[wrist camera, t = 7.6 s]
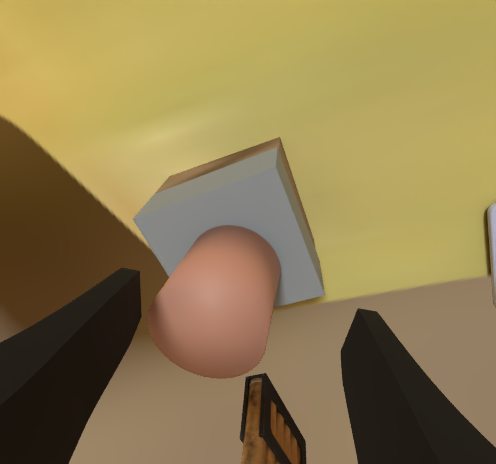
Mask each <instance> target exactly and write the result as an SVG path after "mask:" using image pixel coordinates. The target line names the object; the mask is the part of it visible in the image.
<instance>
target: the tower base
mask: <svg viewBox="0 0 496 464" xmlns="http://www.w3.org/2000/svg"><path fill="white" fill-rule="evenodd" d="M276 147H277V148H278V150H279V153H280V156H281V159H282V161H283V164H284V167H285V169H286V172H287V175H288V177H289V180H290V183H291V185H292V188H293V191H294V194H295V196H296V199H297V202H298V204H299V207H300V210H301V213H302V215H303V218H304V221H305V223H306V226H307V229H308V231H309V234H310V237H311V240H312V242H313V245H314V248H315V243H314V239H313V236H312V233H311V230H310V227H309V224H308V221H307V218H306V215H305V212H304V209H303V206H302V203H301V200H300V197H299V194H298V191H297V188H296V184H295V181H294V178H293V175H292V172H291V169H290V166H289V163H288V160H287V157H286V154H285V151H284V148H283V145H282V142H281V139H280V137H279V138H276V139H273V140H270V141H268V142H265V143H262V144H259V145H256V146H253V147H251V148H248V149H245V150H242V151H239V152H237V153H234V154H231V155H228V156H225V157H223V158H220V159H217V160H214V161H211V162H209V163H206V164H203V165H200V166H197V167H194V168H192V169H189V170H186V171H183V172H180V173H178V174H175V175H172V176H170V177H169V178H168V179H167V180H166V181H165V182H164V183H163V185H162V186H161V187H160V188H159V189H158V190H157V192H156V193H158V192H161V191H163V190H166V189H168V188H171V187H174V186H176V185H179V184H182V183H184V182H187V181H189V180H192V179H195V178H197V177H200V176H203V175H205V174H208V173H210V172H213V171H216V170H218V169H221V168H224V167H226V166H229V165H231V164H234V163H237V162H239V161H242V160H245V159H247V158H250V157H253V156H255V155H258V154H260V153H263V152H266V151H268V150H271V149H274V148H276Z"/></svg>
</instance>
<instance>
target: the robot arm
mask: <svg viewBox="0 0 496 464" xmlns="http://www.w3.org/2000/svg"><path fill="white" fill-rule="evenodd" d="M487 218H488V233H489V247H490V262H491V277H492V291H493V303H494V305H495V307H496V203H495V204H492V205H491V206H490V207H489V209H488V211H487ZM140 294H141V293H140V271H137V270H131V269H126V268H121V269H119V270H117V271H116V272H114V273H113V274H111V275H110V276H109V277H107V278H106V279H104V280H103V281H101V282H100V283H98V284H97V285H95V286H94V287H92V288H91V289H90V290H88V291H87V292H85V293H84V294H82V295H81V296H79V297H78V298H76V299H75V300H73V301H72V302H70V303H68V304H67V305H65V306H64V307H62V308H61V309H59V310H57V311H56V312H54V313H52V314H51V315H49V316H48V317H46V318H44V319H43V320H41V321H39V322H38V323H36V324H34V325H32V326H31V327H29V328H27V329H25V330H24V331H22V332H20V333H18V334H16V335H14V336H12V337H11V338H9V339H7V340H4V341H3V342H1V343H0V464H69V461H70V459H71V456H72V454H73V452H74V450H75V448H76V446H77V443H78V441H79V439H80V437H81V434H82V432H83V430H84V428H85V426H86V423H87V421H88V419H89V418H90V416H91V414H92V412H93V410H94V408H95V406H96V404H97V403H98V401H99V399H100V397H101V395H102V394H103V392H104V390H105V388H106V387H107V385H108V383H109V381H110V379H111V378H112V376H113V374H114V372H115V371H116V369H117V367H118V365H119V364H120V362H121V360H122V358H123V356H124V354H125V353H126V351H127V349H128V347H129V345H130V343H131V341H132V339H133V336H134V334H135V331H136V329H137V326H138V324H139V321H140V318H141V295H140ZM341 368H342V379H343V387H344V392H345V397H346V403H347V408H348V413H349V418H350V423H351V428H352V433H353V439H354V443H355V448H356V454H357V459H358V464H496V448H495V447H494V446H493V445H492V444H491V443H490V442H489V441H488V440H487V439H486V438H485V437H484V436H483V435H482V434H481V433H480V432H479V431H478V430H477V429H476V428H475V427H474V426H473V425H472V424H471V423H470V422H469V421H468V420H467V419H466V418H465V417H464V416H463V415H462V414H461V413H460V412H459V411H458V410H457V409H456V408H455V407H454V405H452V403H451V402H450V401H449V400H448V399H447V398H446V397H445V395H444V394H443V393H442V392H441V391H440V390H439V389H438V388H437V386H436V385H435V384H434V383H433V382H432V381H431V379H430V378H429V377H428V376H427V375H426V374H425V372H424V371H423V370H422V369H421V368H420V366H419V365H418V364H417V363H416V362H415V360H414V359H413V358H412V356H411V355H410V354H409V353H408V351H407V350H406V349H405V347H404V346H403V345H402V344H401V342H400V341H399V340H398V338H397V337H396V336H395V334H394V333H393V332H392V331H391V329H390V328H389V327H388V325H387V324H386V323H385V321H384V320H383V319H382V317H381V316H380V315H379V314H378V313H377V312H376V311H370V310H364V309H358V310H357V312H356V315H355V317H354V320H353V322H352V324H351V327H350V329H349V332H348V334H347V337H346V340H345V342H344V344H343V347H342V349H341Z"/></svg>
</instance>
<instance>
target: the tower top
mask: <svg viewBox="0 0 496 464" xmlns="http://www.w3.org/2000/svg"><path fill="white" fill-rule="evenodd" d="M133 220H134V222H135V223H136V225H137V226H138V228H139V230H140V231H141V233H142V234H143V236H144V238H145V239H146V241H147V242H148V244H149V246H150V247H151V249H152V250H153V252H154V253H155V255H156V257H157V258H158V260H159V261H160V263H161V264H162V266H163V268H164V269H165V271H166V272H167V274H168V276H169V277H170V276H171V275H172V273H173V272H174V271H175V269H176V268H177V266H178V265H179V263H180V262H181V261H182V259H183V258H184V256H185V255H186V254H187V252H188V251H189V249H190V248H191V247H192V245H193V244H194V242H195V241H196V240H197V238H198V237H199V236H200V235H201V234H203V233H204V232H206V231H207V230H209V229H211V228H214V227H217V226H223V225H234V226H240V227H244V228H247V229H250V230H252V231H254V232H256V233H257V234H259V235H261V236H262V237H263V238H264V239H265V240H266V241H267V242H268V243H269V244H270V245H271V246H272V248H273V249H274V251H275V252H276V254H277V257H278V259H279V263H280V277H279V282H278V287H277V292H276V297H275V303H274V308H275V307H279V306H283V305H287V304H291V303H295V302H300V301H304V300H308V299H312V298H316V297H320V296H324V295H325V293H324V286H323V280H322V274H321V268H320V261H319V258H318V256H317V253H316V250H315V248H314V245H313V242H312V240H311V237H310V234H309V231H308V229H307V226H306V223H305V221H304V218H303V215H302V213H301V210H300V207H299V204H298V202H297V199H296V196H295V194H294V191H293V188H292V185H291V183H290V180H289V177H288V175H287V172H286V169H285V167H284V164H283V161H282V159H281V156H280V153H279V150H278V148H277V147H276V148H274V149H271V150H268V151H266V152H263V153H260V154H258V155H255V156H253V157H250V158H247V159H245V160H242V161H239V162H237V163H234V164H231V165H229V166H226V167H224V168H221V169H218V170H216V171H213V172H210V173H208V174H205V175H203V176H200V177H197V178H195V179H192V180H189V181H187V182H184V183H182V184H179V185H176V186H174V187H171V188H168V189H166V190H163V191H161V192H158V193H155V194H154V195H153V196H152V198H151V199H150V200H149V201H148V202H147V203H146V204H145V205H144V207H143V208H142V209H141V210H140V211H139V212H138V213H137V215H136V216H135V217H134V218H133Z"/></svg>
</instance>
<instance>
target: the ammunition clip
mask: <svg viewBox="0 0 496 464" xmlns="http://www.w3.org/2000/svg"><path fill="white" fill-rule="evenodd" d="M240 440H241V441H242V442H243V452H242V462H241V464H306V447H305V446H306V443H305V439H304V438H303V436H302V434H301V433H300V431H299V429H298V428H297V426H296V424H295V422H294V420H293V419H292V417H291V415H290V414H289V412H288V410H287V409H286V407H285V405H284V403H283V402H282V400H281V398H280V396H279V395H278V393H277V391H276V390H275V388H274V386H273V385H272V383H271V381H270V379H269V378H268V376H267V374H266V373H264V374H259V375H253V376H249V377H246V382H245V392H244V402H243V413H242V422H241V433H240Z"/></svg>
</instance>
